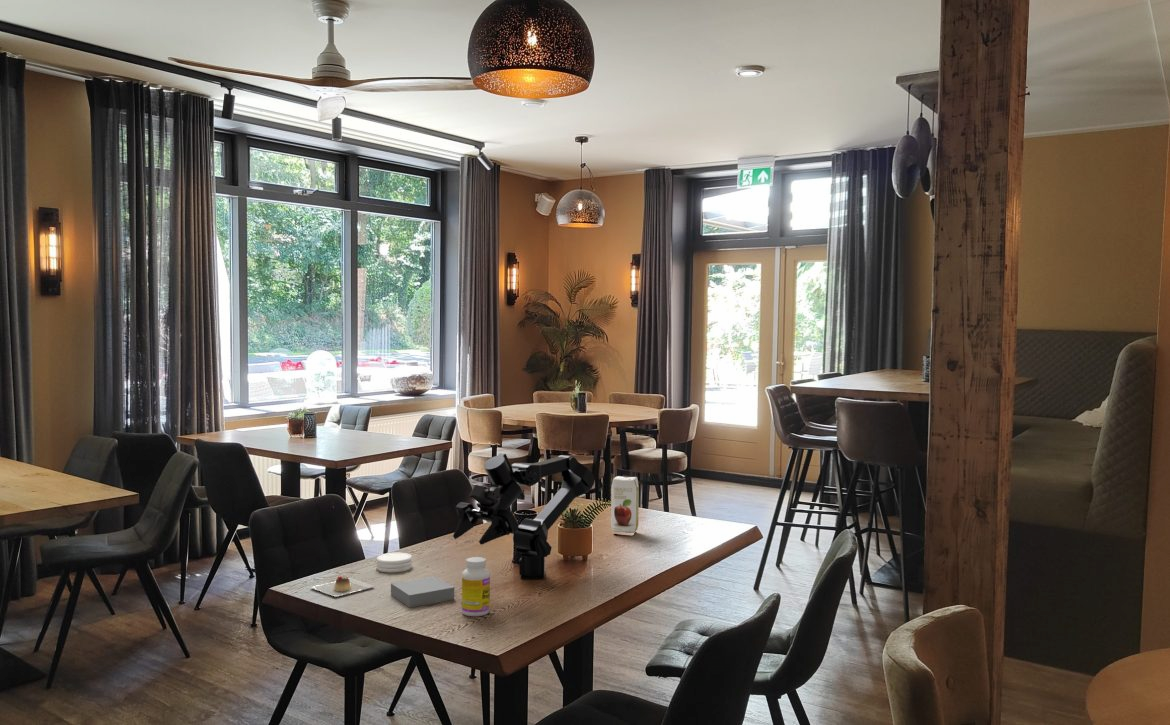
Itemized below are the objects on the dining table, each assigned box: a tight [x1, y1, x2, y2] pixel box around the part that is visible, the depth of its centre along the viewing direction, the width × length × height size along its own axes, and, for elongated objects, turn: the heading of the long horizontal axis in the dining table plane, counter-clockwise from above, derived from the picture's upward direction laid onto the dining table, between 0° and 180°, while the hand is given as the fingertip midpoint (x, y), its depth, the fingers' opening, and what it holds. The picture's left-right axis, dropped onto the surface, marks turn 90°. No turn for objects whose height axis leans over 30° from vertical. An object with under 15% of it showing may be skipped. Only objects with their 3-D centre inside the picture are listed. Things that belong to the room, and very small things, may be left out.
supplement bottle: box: [461, 556, 491, 617], centre depth 203 cm, size 7×7×13 cm
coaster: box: [375, 552, 413, 574], centre depth 241 cm, size 10×10×4 cm
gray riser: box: [390, 575, 455, 608], centre depth 215 cm, size 12×12×3 cm
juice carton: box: [610, 475, 640, 533], centre depth 285 cm, size 8×9×19 cm
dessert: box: [309, 572, 376, 598], centre depth 221 cm, size 12×12×5 cm
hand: (466, 540), depth 213 cm, fingers open, 9 cm apart
